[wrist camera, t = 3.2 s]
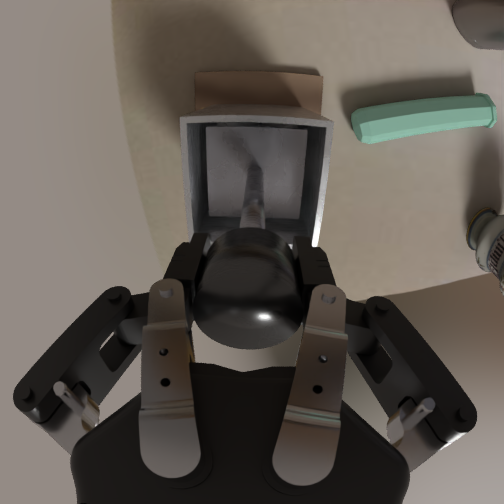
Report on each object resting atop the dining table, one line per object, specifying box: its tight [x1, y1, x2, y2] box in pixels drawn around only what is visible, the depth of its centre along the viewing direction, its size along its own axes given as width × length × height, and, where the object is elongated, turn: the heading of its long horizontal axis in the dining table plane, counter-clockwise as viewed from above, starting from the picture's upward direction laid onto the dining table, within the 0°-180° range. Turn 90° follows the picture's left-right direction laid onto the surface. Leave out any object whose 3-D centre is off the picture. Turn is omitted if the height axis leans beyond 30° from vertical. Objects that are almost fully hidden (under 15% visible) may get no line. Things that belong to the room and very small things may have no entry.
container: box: [351, 93, 497, 144], centre depth 28 cm, size 6×6×25 cm
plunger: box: [192, 126, 308, 349], centre depth 17 cm, size 8×8×17 cm
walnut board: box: [195, 71, 323, 115], centre depth 34 cm, size 20×16×1 cm
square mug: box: [180, 104, 334, 249], centre depth 28 cm, size 14×11×16 cm
